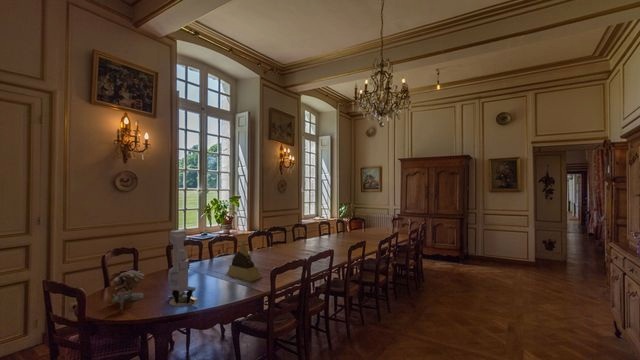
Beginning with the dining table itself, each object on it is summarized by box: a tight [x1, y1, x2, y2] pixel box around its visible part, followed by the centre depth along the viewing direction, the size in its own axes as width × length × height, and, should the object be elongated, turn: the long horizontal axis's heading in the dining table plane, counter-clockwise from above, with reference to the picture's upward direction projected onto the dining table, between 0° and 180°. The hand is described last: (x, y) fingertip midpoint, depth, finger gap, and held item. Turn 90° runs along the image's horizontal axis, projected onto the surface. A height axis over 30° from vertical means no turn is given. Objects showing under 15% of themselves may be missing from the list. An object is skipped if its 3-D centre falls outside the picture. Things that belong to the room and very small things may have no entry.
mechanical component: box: [111, 290, 133, 311], centre depth 191 cm, size 3×10×10 cm, turn 134°
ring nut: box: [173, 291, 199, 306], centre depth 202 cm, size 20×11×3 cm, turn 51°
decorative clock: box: [226, 239, 263, 282], centre depth 262 cm, size 28×13×30 cm, turn 54°
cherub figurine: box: [109, 270, 146, 304], centre depth 212 cm, size 18×18×18 cm
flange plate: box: [169, 295, 198, 307], centre depth 205 cm, size 16×16×1 cm
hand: (182, 302), depth 196 cm, fingers open, 6 cm apart
